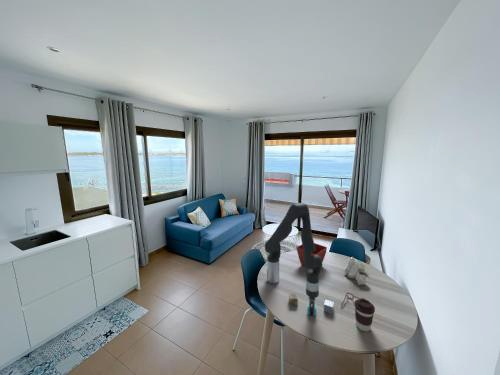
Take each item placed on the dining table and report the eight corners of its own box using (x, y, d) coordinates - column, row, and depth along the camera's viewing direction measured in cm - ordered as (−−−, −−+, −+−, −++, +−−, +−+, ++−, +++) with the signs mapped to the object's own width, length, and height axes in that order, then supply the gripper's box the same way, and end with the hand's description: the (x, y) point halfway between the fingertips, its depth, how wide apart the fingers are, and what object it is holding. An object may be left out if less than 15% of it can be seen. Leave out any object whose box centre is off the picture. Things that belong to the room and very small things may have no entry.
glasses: (368, 306, 131) (368, 299, 130) (363, 319, 121) (364, 311, 120) (346, 297, 139) (346, 290, 138) (340, 308, 129) (340, 301, 129)
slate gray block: (323, 311, 127) (324, 304, 126) (325, 306, 131) (325, 299, 130) (332, 314, 125) (332, 307, 124) (333, 309, 129) (333, 302, 128)
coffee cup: (364, 336, 109) (366, 311, 107) (349, 323, 118) (350, 299, 116) (377, 329, 113) (379, 305, 110) (361, 317, 122) (362, 294, 119)
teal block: (307, 314, 125) (307, 307, 124) (307, 308, 130) (308, 301, 129) (315, 316, 123) (316, 309, 123) (316, 310, 128) (316, 303, 127)
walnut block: (289, 305, 133) (290, 298, 132) (289, 300, 138) (289, 293, 137) (297, 305, 133) (297, 298, 132) (296, 300, 137) (296, 293, 137)
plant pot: (307, 257, 193) (308, 240, 190) (326, 265, 179) (327, 247, 176) (295, 265, 180) (296, 247, 177) (315, 274, 166) (316, 254, 164)
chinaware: (370, 291, 146) (374, 270, 143) (345, 284, 152) (348, 264, 149) (363, 270, 172) (367, 252, 169) (342, 265, 178) (345, 247, 174)
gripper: (306, 279, 132) (306, 302, 134) (305, 293, 118) (304, 319, 121) (319, 281, 129) (318, 305, 132) (318, 296, 116) (317, 322, 119)
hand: (311, 311), depth 126 cm, fingers closed on teal block, 5 cm apart
